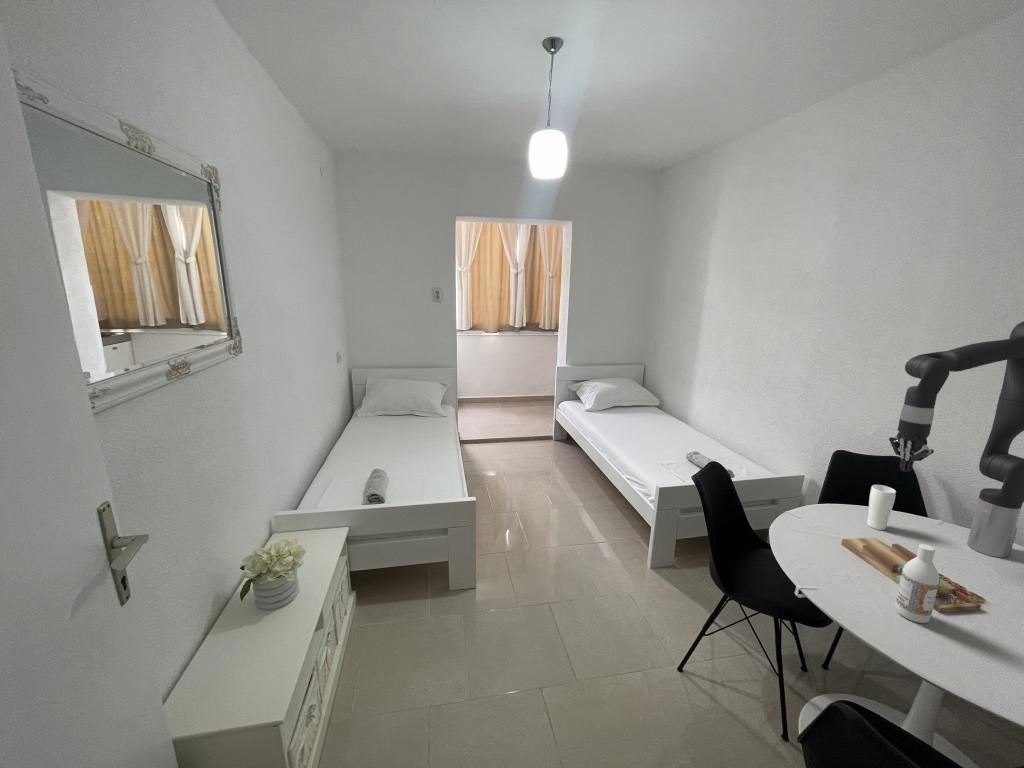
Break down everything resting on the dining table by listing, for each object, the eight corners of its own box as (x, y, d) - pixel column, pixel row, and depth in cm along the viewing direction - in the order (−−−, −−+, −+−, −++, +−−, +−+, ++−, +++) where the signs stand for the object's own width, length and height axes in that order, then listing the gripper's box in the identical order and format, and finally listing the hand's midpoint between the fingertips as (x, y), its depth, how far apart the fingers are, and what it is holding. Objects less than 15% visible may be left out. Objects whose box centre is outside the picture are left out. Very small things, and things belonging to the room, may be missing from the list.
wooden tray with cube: (874, 542, 146) (876, 530, 145) (979, 610, 115) (983, 595, 114) (841, 544, 145) (843, 532, 144) (939, 612, 114) (942, 598, 113)
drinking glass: (879, 522, 159) (886, 484, 156) (893, 532, 152) (901, 493, 149) (859, 521, 160) (866, 484, 156) (872, 531, 153) (880, 492, 150)
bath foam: (916, 626, 110) (932, 557, 105) (887, 607, 116) (901, 541, 112) (936, 621, 111) (953, 553, 107) (907, 603, 118) (922, 537, 114)
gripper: (949, 425, 129) (936, 478, 133) (906, 413, 142) (896, 462, 146) (926, 426, 129) (914, 479, 132) (885, 413, 141) (875, 462, 145)
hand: (905, 470), depth 139 cm, fingers closed
